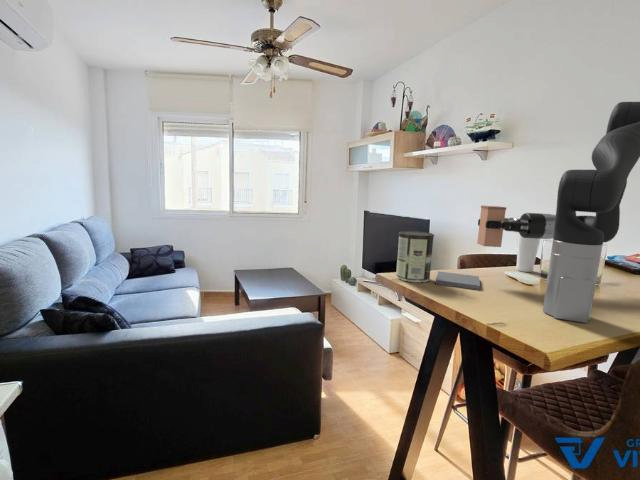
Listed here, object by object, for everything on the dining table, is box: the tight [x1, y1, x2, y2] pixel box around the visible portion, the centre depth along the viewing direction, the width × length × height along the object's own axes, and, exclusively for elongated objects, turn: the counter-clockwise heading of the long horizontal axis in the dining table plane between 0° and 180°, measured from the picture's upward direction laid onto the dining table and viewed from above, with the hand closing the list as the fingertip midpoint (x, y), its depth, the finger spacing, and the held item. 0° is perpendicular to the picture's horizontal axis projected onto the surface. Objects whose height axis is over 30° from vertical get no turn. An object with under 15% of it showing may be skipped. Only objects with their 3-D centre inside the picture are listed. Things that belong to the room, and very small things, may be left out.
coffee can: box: [395, 230, 435, 284], centre depth 110 cm, size 10×10×14 cm
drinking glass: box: [515, 233, 541, 273], centre depth 128 cm, size 7×7×15 cm
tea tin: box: [476, 205, 507, 248], centre depth 108 cm, size 5×5×12 cm
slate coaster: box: [434, 270, 481, 291], centre depth 109 cm, size 12×12×1 cm
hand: (482, 223), depth 108 cm, fingers closed on tea tin, 5 cm apart
